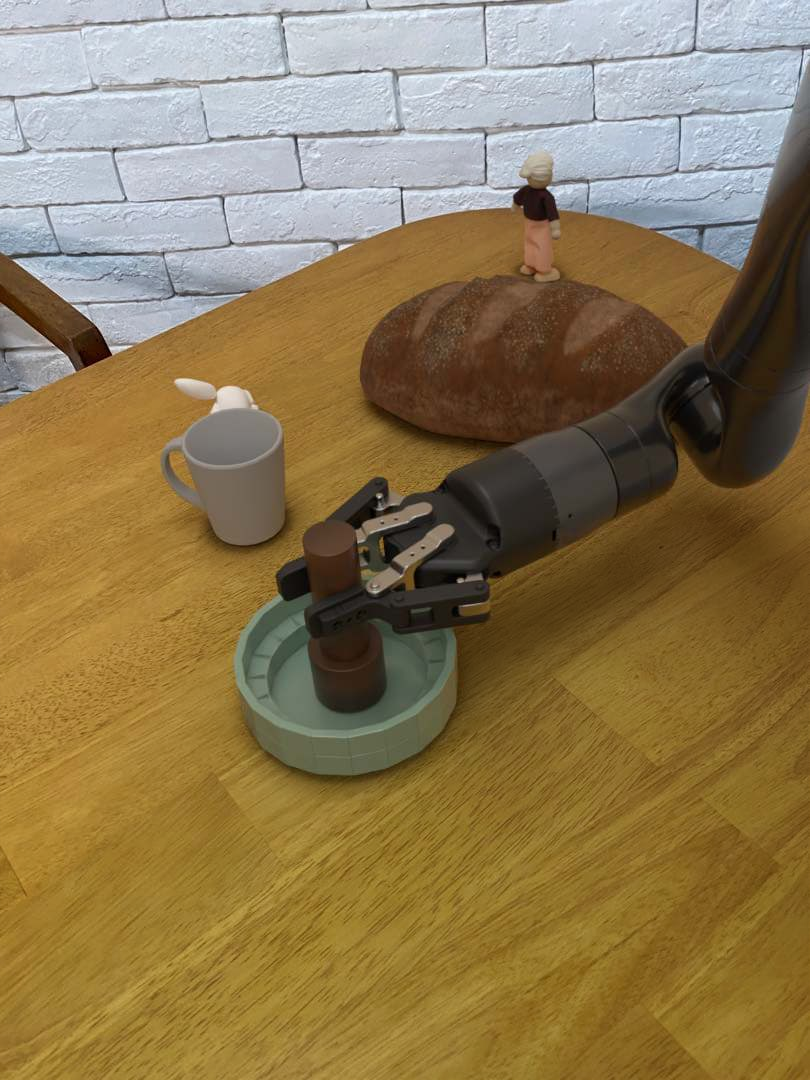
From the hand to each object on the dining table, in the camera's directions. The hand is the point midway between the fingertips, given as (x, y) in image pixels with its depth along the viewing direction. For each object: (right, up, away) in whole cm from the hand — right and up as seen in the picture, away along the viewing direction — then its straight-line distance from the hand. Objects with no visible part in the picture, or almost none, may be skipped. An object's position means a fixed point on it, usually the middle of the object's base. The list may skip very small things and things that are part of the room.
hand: (294, 605), depth 68 cm
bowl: (+3, -6, +7) cm, 10 cm away
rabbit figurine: (-10, +13, +31) cm, 35 cm away
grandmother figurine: (+20, +32, +50) cm, 62 cm away
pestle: (+3, -6, +7) cm, 9 cm away
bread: (+17, +16, +32) cm, 39 cm away
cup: (-7, +5, +22) cm, 24 cm away
